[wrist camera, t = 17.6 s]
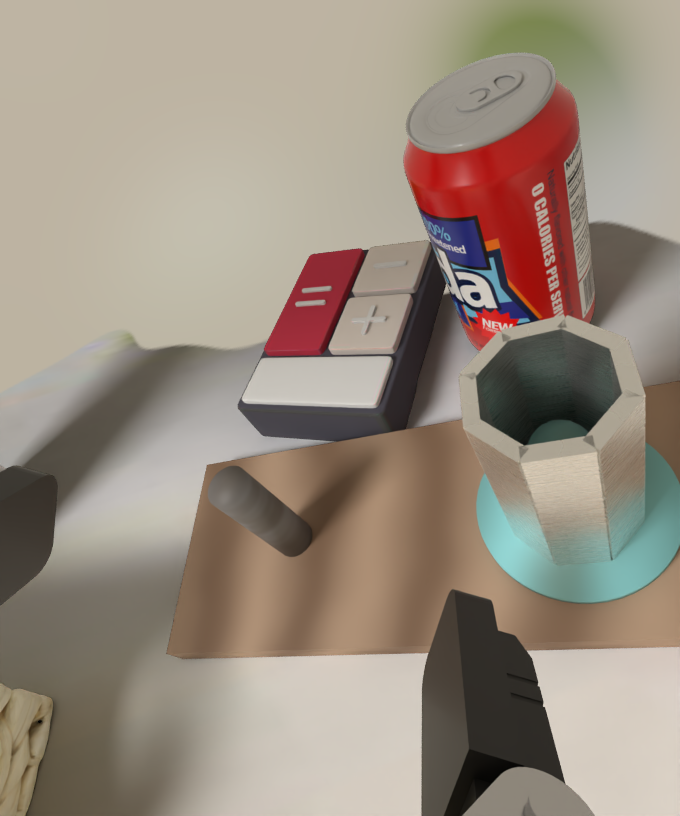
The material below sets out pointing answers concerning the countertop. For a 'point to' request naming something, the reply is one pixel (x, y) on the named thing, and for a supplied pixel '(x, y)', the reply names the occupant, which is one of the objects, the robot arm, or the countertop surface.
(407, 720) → the countertop surface
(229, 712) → the countertop surface
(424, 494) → the jig board
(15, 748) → the storage basket
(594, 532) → the sleeve
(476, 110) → the soda can
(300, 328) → the calculator
